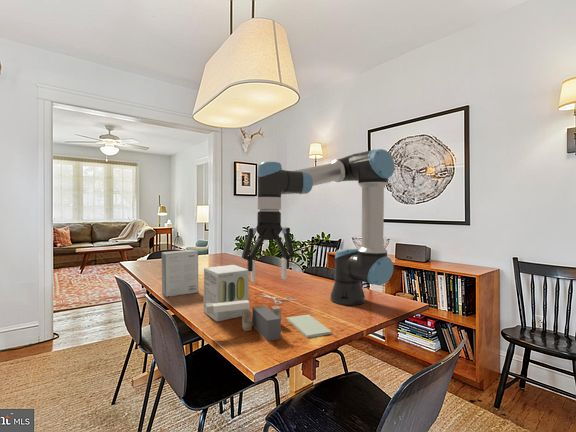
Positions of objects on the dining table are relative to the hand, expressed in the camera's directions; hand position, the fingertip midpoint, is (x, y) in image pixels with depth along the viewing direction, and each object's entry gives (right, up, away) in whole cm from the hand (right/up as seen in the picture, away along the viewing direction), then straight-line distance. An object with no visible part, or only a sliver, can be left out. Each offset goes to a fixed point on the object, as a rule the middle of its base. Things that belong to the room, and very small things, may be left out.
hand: (268, 279), depth 98 cm
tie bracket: (-3, -17, +7) cm, 19 cm away
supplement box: (-18, -17, +20) cm, 32 cm away
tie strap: (-14, -10, +2) cm, 17 cm away
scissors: (-1, -17, +41) cm, 44 cm away
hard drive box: (-45, -16, +47) cm, 68 cm away
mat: (+13, -18, +7) cm, 23 cm away
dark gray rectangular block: (-1, -18, +3) cm, 18 cm away
